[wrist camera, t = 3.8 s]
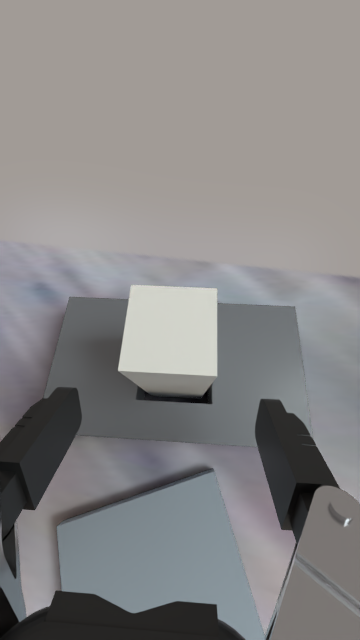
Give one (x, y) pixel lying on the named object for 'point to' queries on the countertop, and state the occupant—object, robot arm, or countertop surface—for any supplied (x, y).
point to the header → (176, 417)
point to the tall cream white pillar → (170, 340)
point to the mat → (161, 553)
